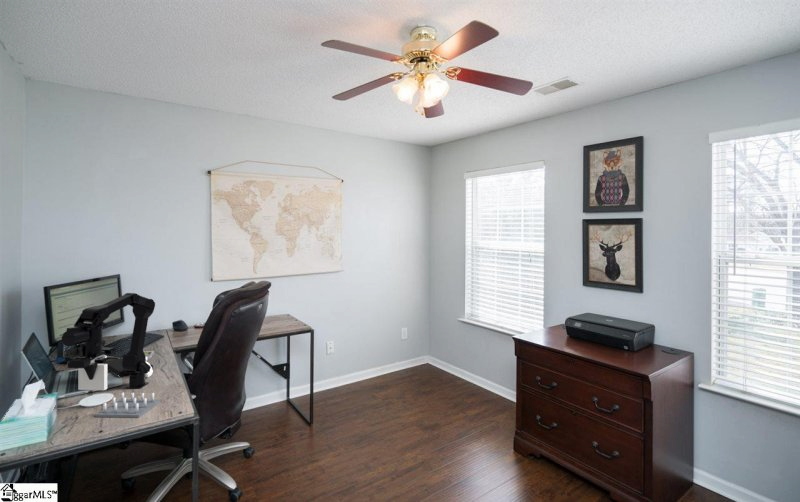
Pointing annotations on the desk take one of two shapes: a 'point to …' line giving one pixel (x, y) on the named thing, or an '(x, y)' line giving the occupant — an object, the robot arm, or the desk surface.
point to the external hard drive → (117, 367)
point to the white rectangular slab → (97, 382)
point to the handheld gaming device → (148, 354)
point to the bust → (149, 371)
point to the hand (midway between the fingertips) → (93, 378)
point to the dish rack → (128, 407)
